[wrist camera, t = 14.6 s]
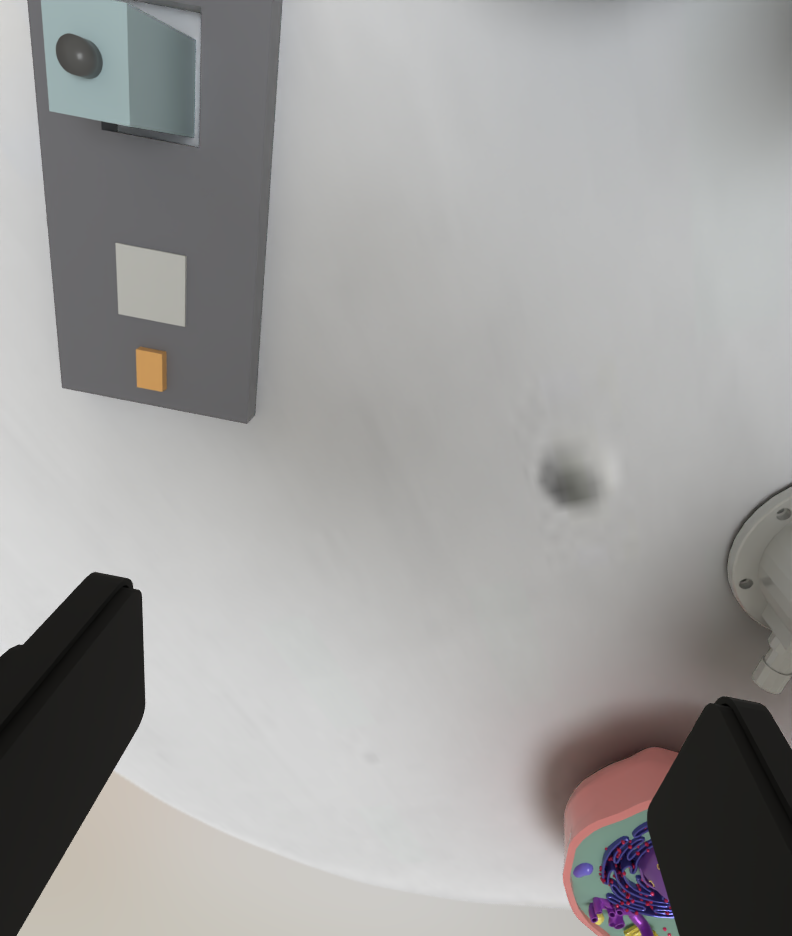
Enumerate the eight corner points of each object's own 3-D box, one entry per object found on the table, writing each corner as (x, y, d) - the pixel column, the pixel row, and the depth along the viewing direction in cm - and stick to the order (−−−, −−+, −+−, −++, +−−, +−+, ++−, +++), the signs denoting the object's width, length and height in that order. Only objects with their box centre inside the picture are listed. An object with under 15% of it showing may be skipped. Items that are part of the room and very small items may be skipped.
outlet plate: (254, 414, 39) (244, 427, 37) (76, 380, 39) (56, 390, 37) (285, -49, 28) (272, -66, 26) (40, -95, 28) (8, -116, 26)
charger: (194, 137, 32) (118, 124, 25) (129, 125, 32) (34, 108, 25) (195, 40, 30) (113, -5, 23) (126, 26, 30) (23, -22, 23)
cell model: (539, 850, 56) (558, 999, 46) (555, 695, 47) (582, 836, 37) (728, 863, 54) (791, 1021, 44) (781, 704, 45) (874, 855, 35)
